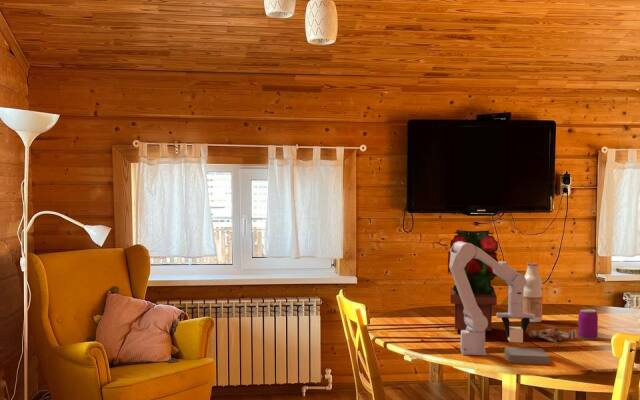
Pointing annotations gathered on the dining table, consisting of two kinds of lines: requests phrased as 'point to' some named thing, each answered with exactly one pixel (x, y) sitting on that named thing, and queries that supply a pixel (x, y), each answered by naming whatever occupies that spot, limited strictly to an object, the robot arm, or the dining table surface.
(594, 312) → the beverage can
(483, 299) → the potted plant
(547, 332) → the figurine
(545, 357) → the plinth
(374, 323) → the dining table surface
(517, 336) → the cube
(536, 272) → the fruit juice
